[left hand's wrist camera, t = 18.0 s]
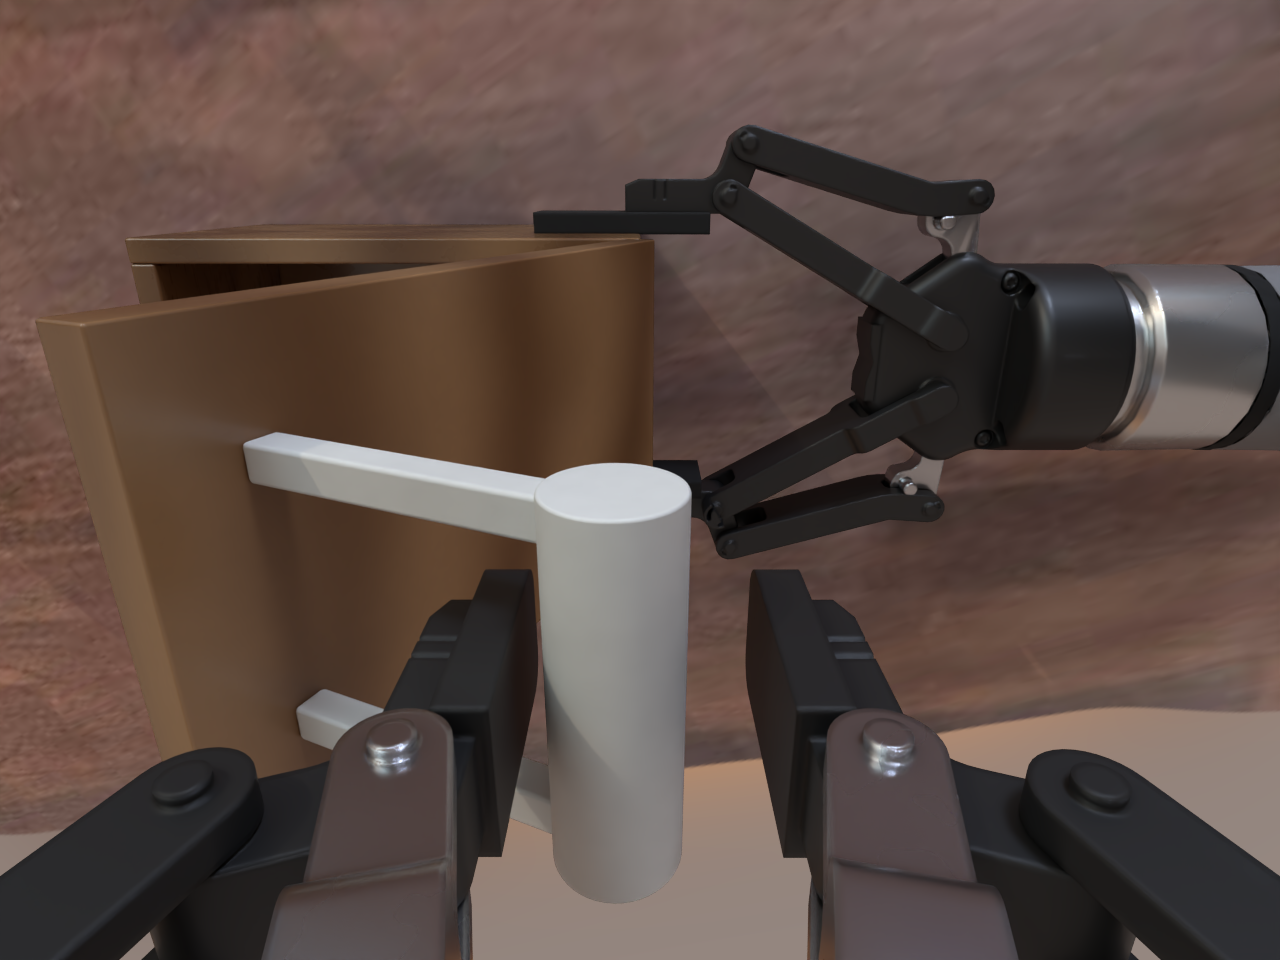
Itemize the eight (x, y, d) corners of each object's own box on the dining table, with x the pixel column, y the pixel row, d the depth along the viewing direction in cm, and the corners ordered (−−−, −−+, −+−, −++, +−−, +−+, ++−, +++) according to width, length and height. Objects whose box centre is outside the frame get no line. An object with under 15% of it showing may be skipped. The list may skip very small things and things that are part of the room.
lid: (195, 882, 13) (614, 1101, 10) (31, 317, 10) (602, 381, 7) (628, 511, 29) (850, 552, 25) (627, 239, 25) (885, 246, 22)
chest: (297, 429, 38) (186, 508, 29) (262, 224, 35) (122, 238, 25) (639, 429, 38) (640, 508, 29) (640, 224, 35) (640, 238, 25)
